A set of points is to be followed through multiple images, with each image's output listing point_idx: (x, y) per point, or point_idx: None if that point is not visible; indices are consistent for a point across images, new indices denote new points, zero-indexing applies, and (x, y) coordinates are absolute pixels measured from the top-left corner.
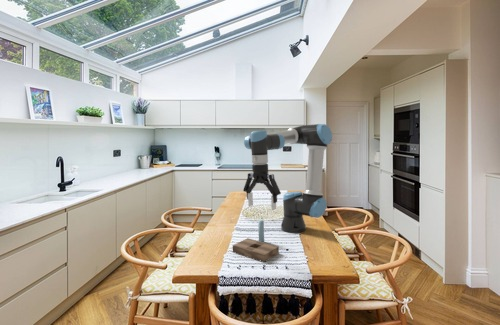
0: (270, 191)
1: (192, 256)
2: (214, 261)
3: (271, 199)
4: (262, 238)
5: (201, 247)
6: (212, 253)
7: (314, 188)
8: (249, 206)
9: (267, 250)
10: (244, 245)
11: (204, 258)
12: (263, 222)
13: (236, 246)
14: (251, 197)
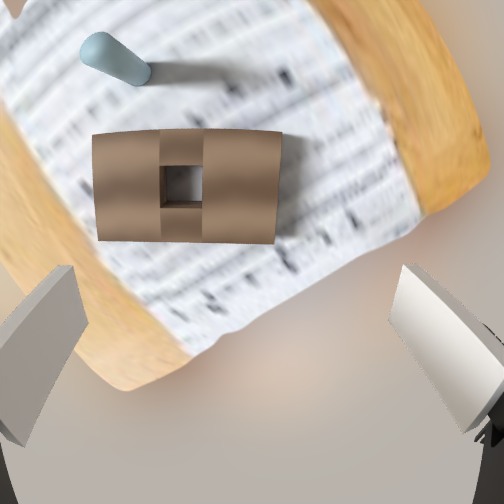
0: (485, 485)
1: None
2: (121, 314)
3: (446, 400)
4: (142, 75)
5: (15, 261)
6: None
7: None
8: (85, 323)
9: (261, 198)
10: (136, 211)
11: None
12: (116, 43)
13: (118, 240)
14: (26, 354)
